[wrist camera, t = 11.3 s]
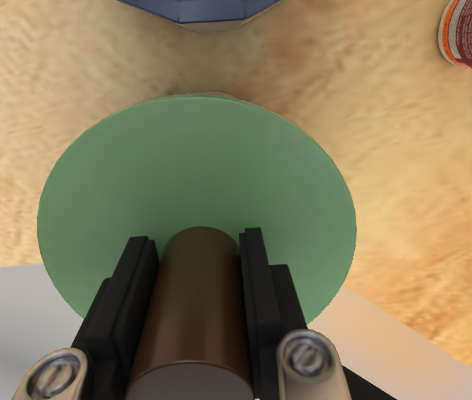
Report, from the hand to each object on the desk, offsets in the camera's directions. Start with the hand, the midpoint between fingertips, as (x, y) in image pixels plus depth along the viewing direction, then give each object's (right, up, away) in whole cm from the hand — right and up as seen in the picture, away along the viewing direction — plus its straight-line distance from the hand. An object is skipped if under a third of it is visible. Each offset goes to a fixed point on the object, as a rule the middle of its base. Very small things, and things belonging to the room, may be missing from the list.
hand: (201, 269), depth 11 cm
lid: (0, +1, +1) cm, 1 cm away
